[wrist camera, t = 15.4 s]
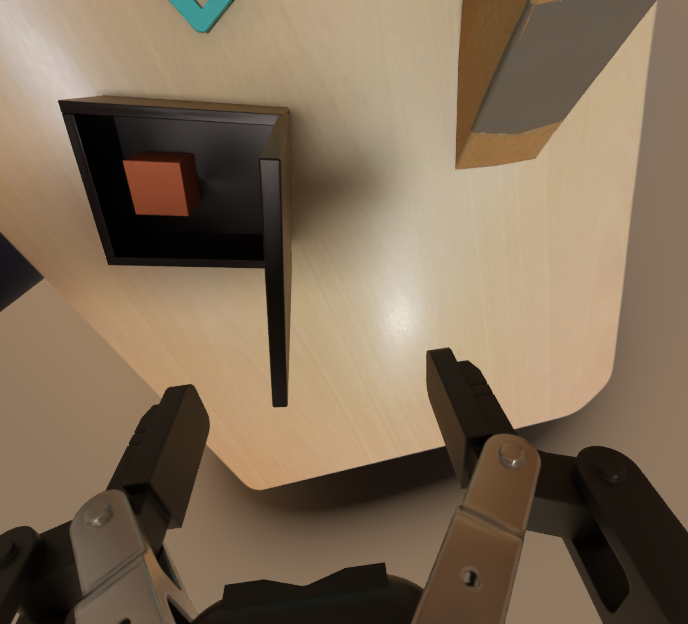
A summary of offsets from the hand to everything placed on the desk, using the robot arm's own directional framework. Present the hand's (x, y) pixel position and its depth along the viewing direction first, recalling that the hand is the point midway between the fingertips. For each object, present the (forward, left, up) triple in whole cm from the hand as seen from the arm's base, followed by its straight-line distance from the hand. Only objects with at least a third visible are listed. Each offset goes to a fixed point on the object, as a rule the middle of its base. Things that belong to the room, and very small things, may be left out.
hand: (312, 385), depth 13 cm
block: (-13, 0, -28) cm, 30 cm away
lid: (-2, 0, -13) cm, 13 cm away
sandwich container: (+17, +10, -29) cm, 35 cm away
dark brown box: (-10, 0, -28) cm, 30 cm away
